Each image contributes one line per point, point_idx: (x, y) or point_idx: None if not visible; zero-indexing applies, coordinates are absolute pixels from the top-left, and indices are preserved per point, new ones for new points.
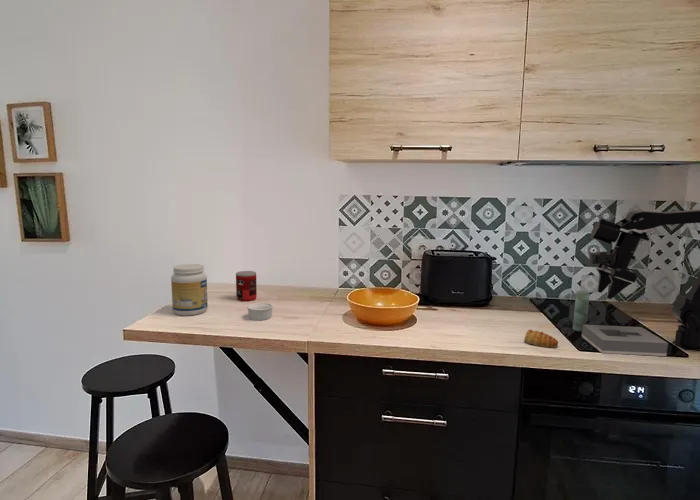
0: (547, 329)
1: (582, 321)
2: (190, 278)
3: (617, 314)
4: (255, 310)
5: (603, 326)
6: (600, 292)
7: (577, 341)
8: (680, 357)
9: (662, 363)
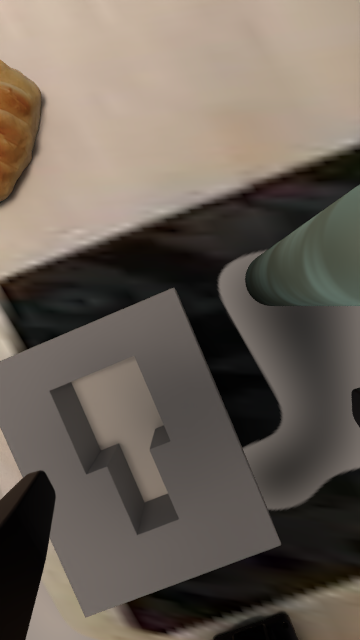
0: (200, 151)
1: (258, 285)
2: None
3: None
4: None
5: (195, 380)
6: (354, 412)
7: (102, 276)
8: (117, 606)
9: None
